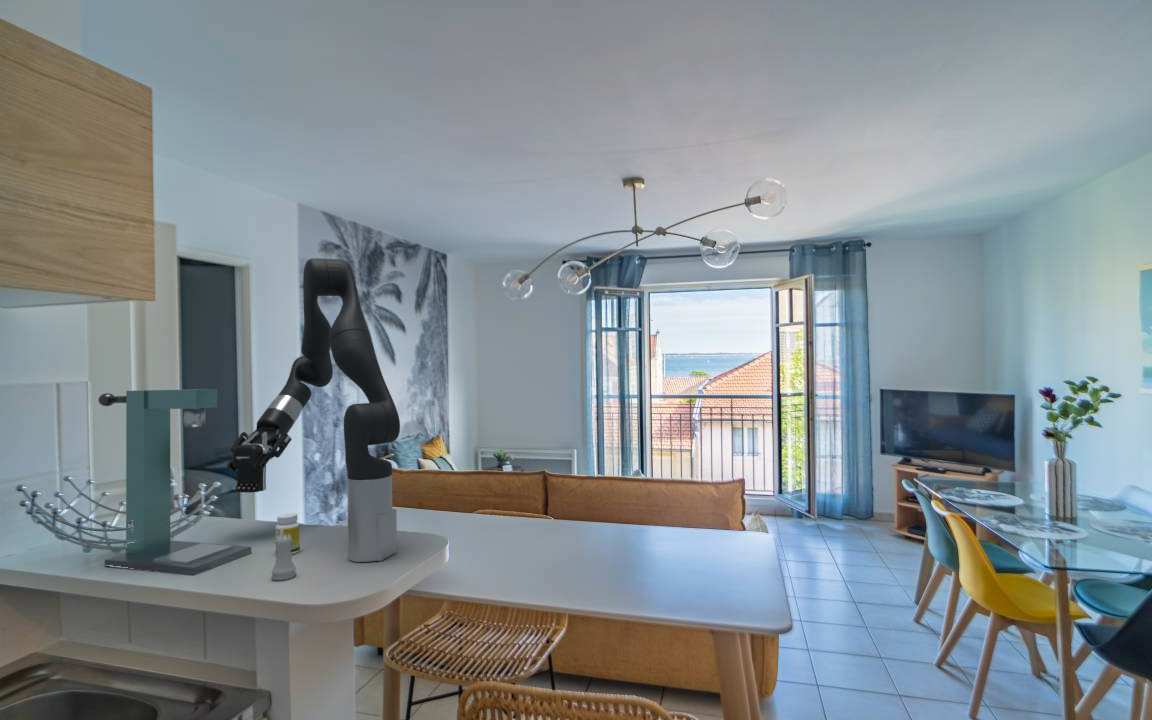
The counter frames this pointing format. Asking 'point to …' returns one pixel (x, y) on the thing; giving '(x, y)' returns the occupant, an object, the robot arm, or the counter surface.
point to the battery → (249, 468)
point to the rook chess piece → (283, 560)
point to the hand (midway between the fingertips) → (243, 469)
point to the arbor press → (161, 483)
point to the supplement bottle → (289, 530)
